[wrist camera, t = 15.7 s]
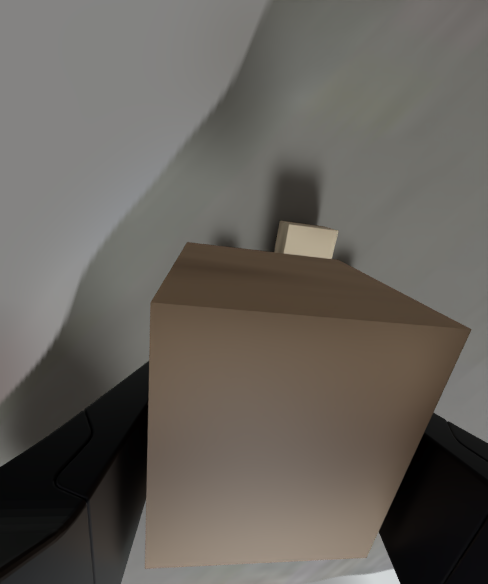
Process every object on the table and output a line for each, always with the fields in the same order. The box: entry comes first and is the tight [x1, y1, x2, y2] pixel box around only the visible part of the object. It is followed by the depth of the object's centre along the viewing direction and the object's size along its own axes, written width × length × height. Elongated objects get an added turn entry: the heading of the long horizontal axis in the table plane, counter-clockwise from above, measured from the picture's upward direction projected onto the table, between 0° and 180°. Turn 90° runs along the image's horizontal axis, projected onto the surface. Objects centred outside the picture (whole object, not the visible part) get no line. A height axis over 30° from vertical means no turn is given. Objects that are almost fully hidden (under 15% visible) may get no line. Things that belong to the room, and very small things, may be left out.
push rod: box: [274, 221, 338, 259], centre depth 18 cm, size 12×5×4 cm, turn 172°
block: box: [145, 242, 471, 569], centre depth 7 cm, size 6×5×5 cm
